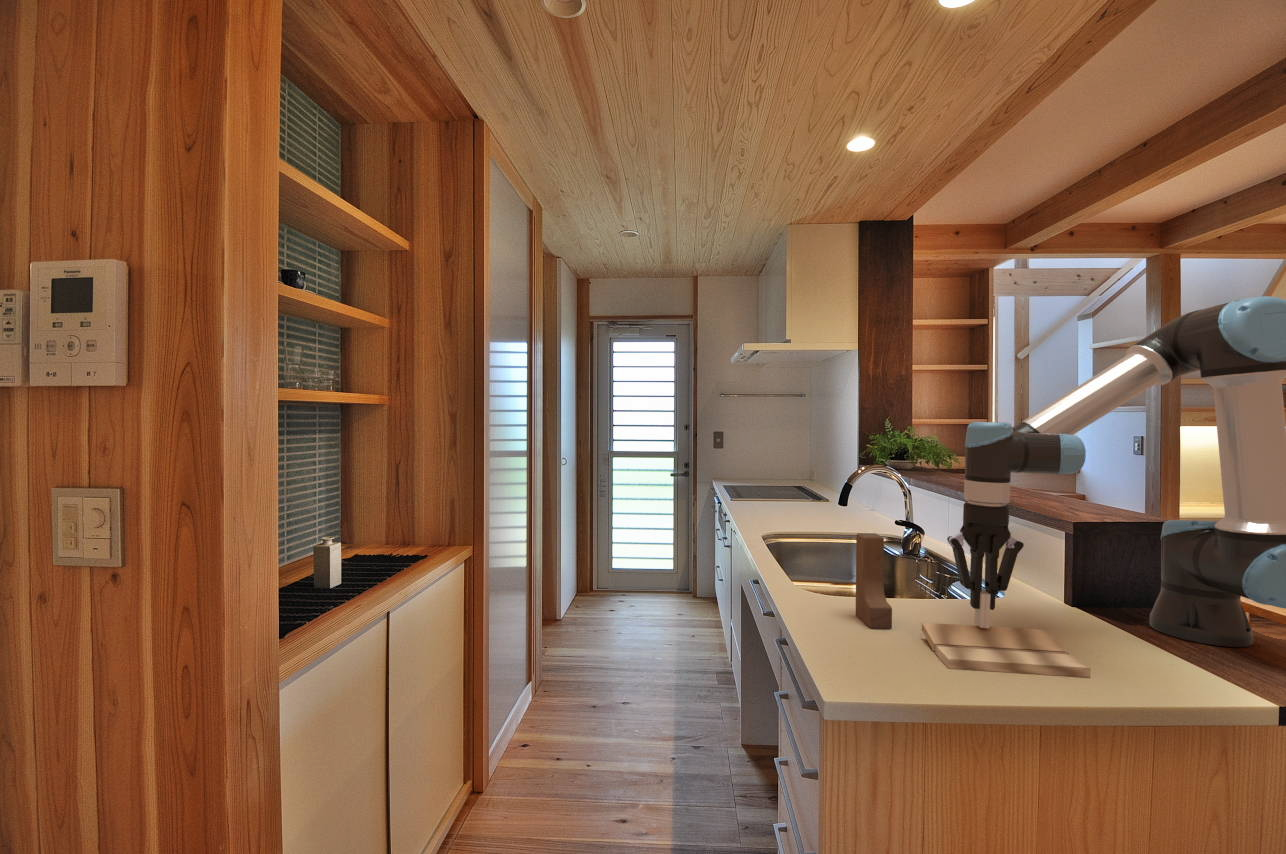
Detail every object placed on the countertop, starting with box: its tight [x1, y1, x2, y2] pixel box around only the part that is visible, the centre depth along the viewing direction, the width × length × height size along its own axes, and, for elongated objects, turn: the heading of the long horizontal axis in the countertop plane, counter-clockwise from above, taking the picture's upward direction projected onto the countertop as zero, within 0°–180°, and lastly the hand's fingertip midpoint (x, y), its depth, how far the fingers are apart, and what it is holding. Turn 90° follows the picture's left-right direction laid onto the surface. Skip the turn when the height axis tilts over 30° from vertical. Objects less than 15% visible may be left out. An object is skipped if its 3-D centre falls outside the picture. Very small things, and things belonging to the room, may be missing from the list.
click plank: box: [921, 622, 1067, 653], centre depth 108 cm, size 22×7×2 cm, turn 82°
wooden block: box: [855, 532, 893, 630], centre depth 123 cm, size 9×4×18 cm, turn 179°
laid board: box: [934, 645, 1091, 679], centre depth 101 cm, size 22×6×2 cm, turn 82°
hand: (981, 625), depth 111 cm, fingers closed
